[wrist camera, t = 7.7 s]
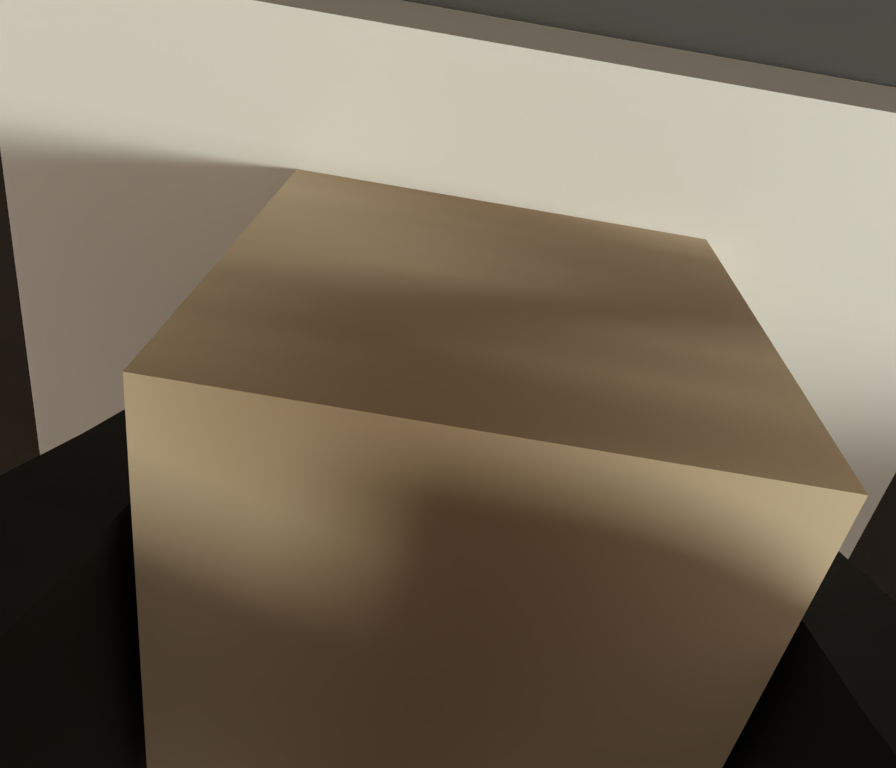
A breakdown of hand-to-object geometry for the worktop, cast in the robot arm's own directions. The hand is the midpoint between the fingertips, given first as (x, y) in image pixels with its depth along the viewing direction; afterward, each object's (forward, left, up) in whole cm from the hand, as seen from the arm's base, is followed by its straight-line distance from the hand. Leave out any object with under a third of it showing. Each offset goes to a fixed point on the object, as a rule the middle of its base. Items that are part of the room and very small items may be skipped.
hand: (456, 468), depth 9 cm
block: (0, -1, -1) cm, 1 cm away
